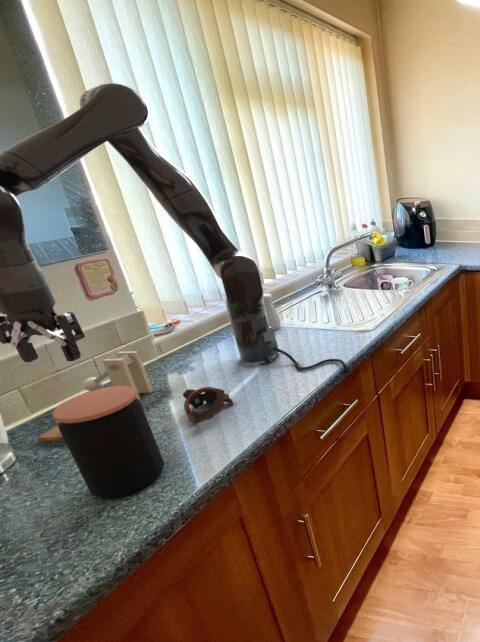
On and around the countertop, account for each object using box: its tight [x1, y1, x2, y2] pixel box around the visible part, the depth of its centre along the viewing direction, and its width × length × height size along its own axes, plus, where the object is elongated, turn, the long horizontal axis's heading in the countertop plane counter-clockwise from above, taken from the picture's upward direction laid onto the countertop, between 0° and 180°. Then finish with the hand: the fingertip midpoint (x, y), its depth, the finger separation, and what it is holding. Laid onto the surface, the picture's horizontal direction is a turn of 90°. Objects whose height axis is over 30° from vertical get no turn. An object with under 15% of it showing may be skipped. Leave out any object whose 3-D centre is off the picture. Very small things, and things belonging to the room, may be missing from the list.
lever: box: [82, 354, 134, 392], centre depth 100 cm, size 14×3×3 cm
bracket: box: [101, 350, 154, 401], centre depth 101 cm, size 10×8×13 cm
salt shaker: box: [263, 293, 282, 331], centre depth 145 cm, size 6×6×13 cm
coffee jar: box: [51, 386, 165, 500], centre depth 74 cm, size 11×11×18 cm
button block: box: [36, 422, 65, 442], centre depth 90 cm, size 11×9×4 cm
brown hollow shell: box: [182, 386, 234, 426], centre depth 97 cm, size 12×10×8 cm
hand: (53, 360), depth 85 cm, fingers open, 8 cm apart
